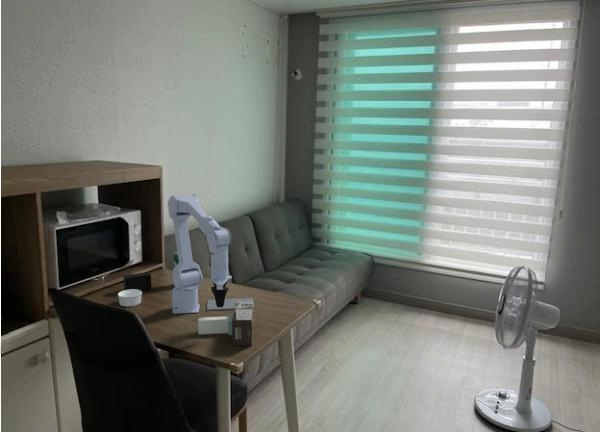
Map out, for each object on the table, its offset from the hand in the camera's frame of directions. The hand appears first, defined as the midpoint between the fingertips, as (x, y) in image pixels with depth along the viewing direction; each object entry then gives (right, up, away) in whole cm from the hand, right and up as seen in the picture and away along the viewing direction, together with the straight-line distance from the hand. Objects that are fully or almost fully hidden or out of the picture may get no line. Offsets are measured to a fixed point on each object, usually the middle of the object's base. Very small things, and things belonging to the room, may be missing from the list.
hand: (220, 302), depth 158 cm
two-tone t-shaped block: (-2, -10, -1) cm, 10 cm away
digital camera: (-42, -2, +37) cm, 56 cm away
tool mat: (0, -5, +23) cm, 24 cm away
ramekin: (-39, -5, +23) cm, 46 cm away
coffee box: (+8, -5, +4) cm, 10 cm away
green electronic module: (-25, -1, +44) cm, 51 cm away
